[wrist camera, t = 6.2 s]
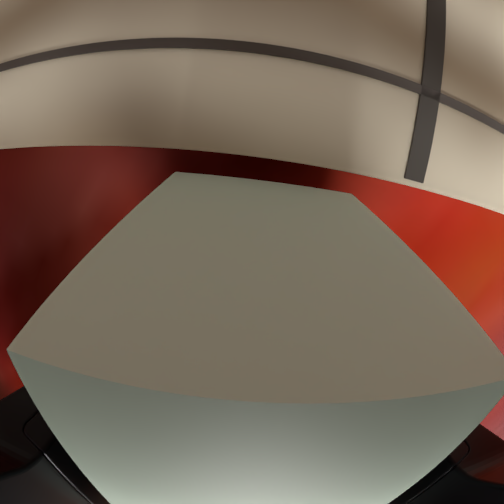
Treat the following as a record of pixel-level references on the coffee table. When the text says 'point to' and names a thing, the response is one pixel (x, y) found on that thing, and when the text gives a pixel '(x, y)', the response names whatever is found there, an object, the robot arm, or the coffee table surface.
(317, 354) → the block
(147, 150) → the coffee table surface
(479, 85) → the birch board
